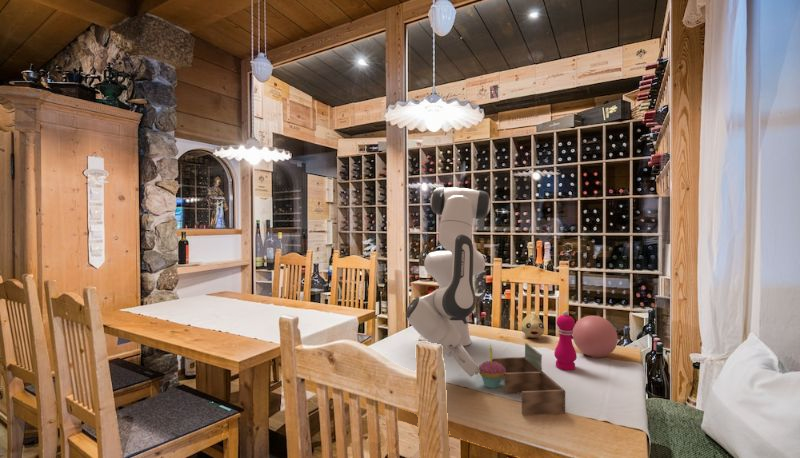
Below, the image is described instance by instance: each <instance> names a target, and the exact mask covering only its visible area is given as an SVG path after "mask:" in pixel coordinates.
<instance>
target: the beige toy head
mask: <svg viewBox="0 0 800 458" xmlns="http://www.w3.org/2000/svg"><path fill="white" fill-rule="evenodd" d="M520 328H521V331H522V333H523V334H524V337H525V338H526V339H528V338H533V339H534V338H535V339H537V340H540V339H541V337H542V335H543V333H544V332H545V326H544V323H543V321H542V320H541V319H540V317H539V315H537V314H536V313H528V314H527V315H526V316H525V317H524V318H523V319H522V321H521V324H520Z"/></svg>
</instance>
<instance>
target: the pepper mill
mask: <svg viewBox="0 0 800 458" xmlns="http://www.w3.org/2000/svg"><path fill="white" fill-rule="evenodd" d="M575 324H576V322H575V319H574V318H573V316H570V315H569V312H568V311H567V310H563V312H562V315H559V316H558V317H557V318H556V325H557V327H558V329H557V333H558V334H559V335H558V336H559V340H558V342H557V344H556V347H555V350H554V357H555V358H556V360H555V367H556V368H557V369H559V370H563V371H568V372H569V371H573V370H576V369H575V368H576V363H575V361H576V360H577V352H576V349H575V347H574V344H573V328H574V326H575Z"/></svg>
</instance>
